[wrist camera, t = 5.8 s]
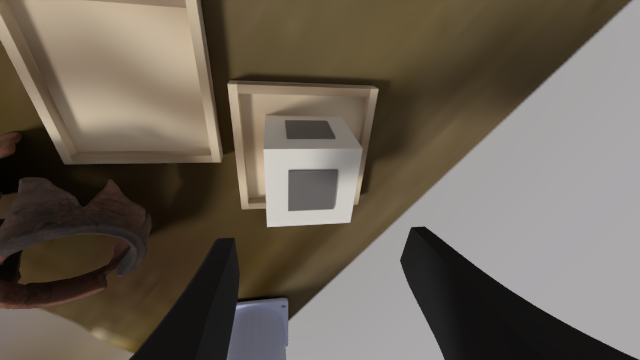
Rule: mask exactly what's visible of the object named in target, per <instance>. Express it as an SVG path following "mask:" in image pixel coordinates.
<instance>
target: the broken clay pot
mask: <svg viewBox="0 0 640 360" xmlns="http://www.w3.org/2000/svg"><path fill="white" fill-rule="evenodd" d="M21 139H22V134H20V133H19V132H11V133H8V134H5V135H2V136H0V159H1V158H4V157H7V156H9V155H12V154H13V153H14V152H15V149H16V147H15V145H16V144H17V143H18V142H19V141H20V140H21ZM18 193H19V196H18V197H17V198H16V199H15V200H14V201H13V203H12V205H11V207H10V210H9V214H8V215H7V216H6V218H5V219H0V308H4V309H31V308H39V307H45V306H53V305H58V304H63V303H66V302H69V301H74V300H77V299H80V298H83V297H86V296H89V295H92V294H95V293H97V292H99V291H101V290H103V289H105V288H106V287H107V280H106V276H107V275H108V274H109V273H111V272H113V271H115V270H117V276H119V277H122V276H124V275H126V274H129V273H132V272H133V271H135V270H136V268H137V267H138V266H139V265H140V264H141V262H142V260H143V259H144V257H145V255H146V251H147V248H146V243H145V241H146V240H147V238H148V236H149V234H150V231H151V227H152V222H151V216H150V214H148V213H146V210H145V209H144V208H143V207H142V206H141V205H139V204H136V203H134V202H133V201H131V200H129V199H128V198H127V197H126V196H125V195H124V194H123V193H122V192H121V190H120V188H119V187H118V186H117V185H116V184H115V183H114V181H113V180H111V179H109V180H108V181H107V183H106V186H105V187H104V188H103V190H102V191H101V192H99V193H98V194H97V195H96V196H95V197H94V198H93V199H92V200H91V201H90V202H89V203H88V204H87V205H86V206H84V207H82V206H81V205H80V204H79V202H78V200H77V198H76V197H75V196H74V195H72V194H71V193H69V192H67V191H65V190H63V189H61V188H58V187H56V186H55V185H54V184H52V183H51V182H50V181H49V180H47V179H45V178H39V177H26V178H22V179H20V180H19V189H18ZM1 197H2V192H0V198H1ZM80 234H98V235H108V236H112V237H116V238H120V240H119V241H118V242H117V243H116V244H115V245H114V246H113V247H112V254H113V255H112V256H113V257H112V259H111V261H110V263H109V264H108V265H106V266H104V267H102V268H100V269H97V270H95V271H92V272H89V273H87V274H84V275H81V276H78V277H74V278H71V279H63V280H57V281H52V282H45V283H28V284H26V285H23V284H17V283H18V281H19V280H20V278H21V275H20V272H19V267H20V259H21V253H22V251H23V249H25V248H27V247H29V246H32V245H34V244H37V243H41V242H44V241H48V240H51V239H56V238H61V237H66V236H72V235H80Z"/></svg>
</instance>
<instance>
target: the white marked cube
mask: <svg viewBox="0 0 640 360" xmlns="http://www.w3.org/2000/svg"><path fill="white" fill-rule="evenodd" d="M362 150H363V148H362V147H361V145H360V144H359V142H358V141H357V139H356V138H355V136H354V135H353V133H352V132H351V130H350V129H349V127H348V126H347V124H346V123H345V121H344V120H343V118H342V117H341V116H289V115H265V129H264V146H263V153H264V172H265V192H266V211H267V227H277V226H296V225H314V224H333V223H350V221H351V215H352V209H353V203H354V197H355V192H356V186H357V180H358V174H359V168H360V162H361V156H362Z"/></svg>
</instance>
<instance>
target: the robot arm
mask: <svg viewBox="0 0 640 360" xmlns="http://www.w3.org/2000/svg"><path fill="white" fill-rule="evenodd" d="M400 262H401V265H402V268H403V271H404V274H405V276H406V279H407V281H408V284H409V286H410V288H411V290H412V292H413V294H414V296H415V298H416V300H417V302H418V304H419V306H420V308H421V310H422V312H423V314H424V316H425V318H426V320H427V322H428V324H429V326H430V328H431V330H432V332H433V334H434V336H435V338H436V340H437V342H438V345H439V347H440V349H441V352H442V354H443V357H444V359H445V360H638V359H636V358H634V357H631V356H629V355H627V354H625V353H623V352H621V351H619V350H617V349H615V348H613V347H610V346H609V345H607V344H604V343H603V342H601V341H599V340H596V339H594V338H592V337H590V336H589V335H587V334H585V333H583V332H581V331H579V330H577V329H575V328H573V327H571V326H570V325H568V324H566V323H564V322H562V321H561V320H559V319H557V318H555V317H553V316H552V315H550V314H548V313H546V312H545V311H543V310H541V309H539V308H537V307H536V306H534V305H533V304H531V303H530V302H528V301H526V300H525V299H523V298H522V297H520V296H518V295H517V294H515V293H514V292H512V291H511V290H509V289H508V288H506V287H504V286H503V285H502V284H500V283H499V282H497V281H496V280H494V279H493V278H492V277H490V276H489V275H487V274H486V273H485V272H483V271H482V270H481V269H479V268H478V267H476V266H475V265H474V264H472V263H471V262H470V261H468V260H467V259H466V258H464V257H463V256H462V255H461V254H459V253H458V252H457V251H455V250H454V249H453V248H452V247H450V246H449V245H448V244H446V243H445V242H444V241H443V240H442V239H440V238H439V237H438V236H437V235H435V234H434V233H432V232H431V231H430V230H428V229H427V228H426V227H412V228H411V230H410V232H409V235H408V238H407V241H406V244H405V247H404V250H403V254H402V256H401V260H400ZM239 275H240V273H239V266H238V259H237V252H236V245H235V238H222V239H217V240H216V241H215V242H214V244H213V246H212V247H211V249H210V251H209V253H208V254H207V256H206V258H205V259H204V261H203V263H202V264H201V266H200V268H199V269H198V271H197V272H196V274H195V275H194V277H193V278H192V280H191V281H190V283H189V284H188V286H187V287H186V289H185V290H184V292H183V293H182V295H181V296H180V297H179V299H178V300H177V301H176V303H175V304H174V305H173V307H172V308H171V309H170V311H169V312H168V313H167V315H166V316H165V317H164V319H163V320H162V321H161V323H160V324H159V325H158V326H157V328H156V329H155V330H154V331H153V332H152V334H151V335H150V336H149V337H148V338H147V340H146V341H145V342H144V343H143V344H142V346H141V347H140V348H139V349H138V350H137V351H136V353H135V354H134V355H133V356H132V357H131V358H130V359H129V360H286V348H285V347H287V345H288V299H287V298H276V299H265V300H255V301H245V302H237V300H238V289H239Z"/></svg>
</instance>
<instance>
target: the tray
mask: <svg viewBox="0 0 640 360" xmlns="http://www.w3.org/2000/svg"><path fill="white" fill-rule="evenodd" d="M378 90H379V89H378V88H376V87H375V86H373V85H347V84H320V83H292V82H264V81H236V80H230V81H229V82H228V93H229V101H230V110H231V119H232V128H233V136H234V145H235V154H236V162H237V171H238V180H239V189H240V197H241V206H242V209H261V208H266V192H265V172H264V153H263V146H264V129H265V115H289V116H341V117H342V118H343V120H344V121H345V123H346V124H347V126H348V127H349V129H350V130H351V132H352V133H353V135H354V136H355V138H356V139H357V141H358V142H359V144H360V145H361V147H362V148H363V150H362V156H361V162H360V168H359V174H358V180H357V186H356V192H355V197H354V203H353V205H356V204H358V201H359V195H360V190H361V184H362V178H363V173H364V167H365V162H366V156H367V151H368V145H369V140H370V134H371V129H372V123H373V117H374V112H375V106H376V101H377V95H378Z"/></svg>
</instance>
